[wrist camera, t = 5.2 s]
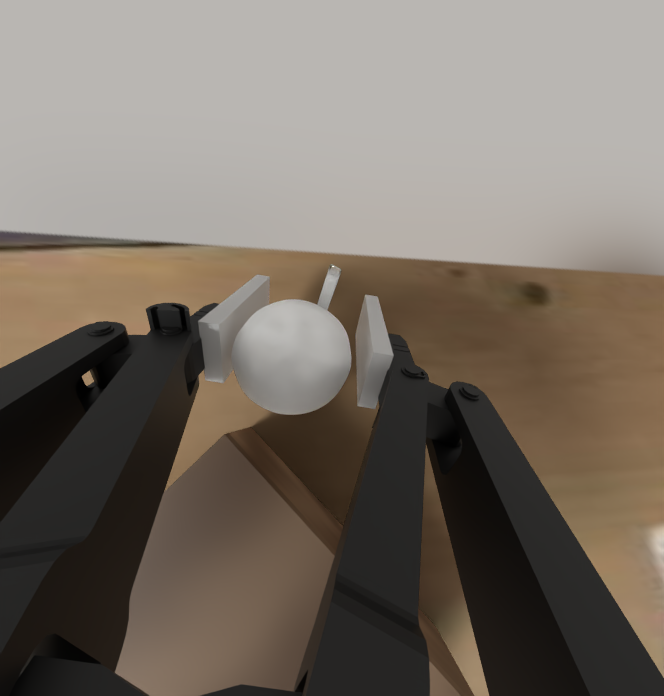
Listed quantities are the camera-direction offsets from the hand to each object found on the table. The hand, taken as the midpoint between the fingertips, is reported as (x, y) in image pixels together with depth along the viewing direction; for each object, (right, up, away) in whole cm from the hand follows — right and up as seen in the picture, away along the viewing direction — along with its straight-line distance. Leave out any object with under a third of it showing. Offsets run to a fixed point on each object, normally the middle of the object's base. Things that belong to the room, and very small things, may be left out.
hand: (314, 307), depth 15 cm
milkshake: (-1, -4, +3) cm, 5 cm away
